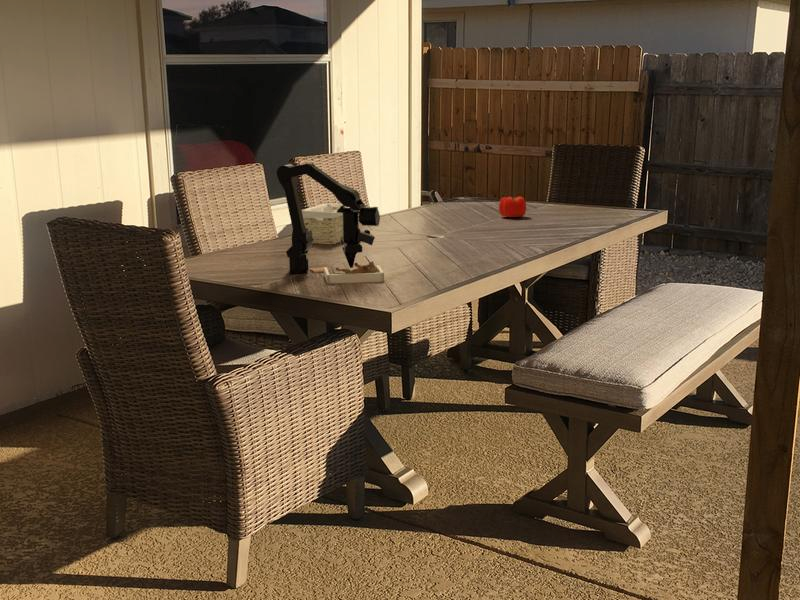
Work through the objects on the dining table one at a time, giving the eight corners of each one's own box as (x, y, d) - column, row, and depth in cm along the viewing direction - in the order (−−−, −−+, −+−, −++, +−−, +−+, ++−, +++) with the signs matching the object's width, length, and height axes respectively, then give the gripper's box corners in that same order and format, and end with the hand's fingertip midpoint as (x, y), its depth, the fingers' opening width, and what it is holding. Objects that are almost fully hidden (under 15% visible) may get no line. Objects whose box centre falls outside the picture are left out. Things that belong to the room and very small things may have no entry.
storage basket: (334, 245, 410) (333, 211, 407) (300, 243, 416) (299, 209, 413) (357, 237, 432) (357, 204, 429) (325, 235, 438) (324, 202, 435)
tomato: (526, 215, 491) (526, 195, 489) (525, 219, 479) (526, 198, 476) (499, 215, 493) (499, 195, 491) (498, 219, 480) (498, 198, 478)
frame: (327, 283, 336) (326, 275, 336) (324, 275, 350) (323, 267, 349) (384, 281, 339) (384, 273, 338) (378, 273, 353) (378, 265, 352)
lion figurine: (364, 255, 351) (378, 262, 344) (366, 268, 353) (380, 275, 346) (330, 269, 344) (344, 276, 337) (333, 282, 346) (346, 290, 340)
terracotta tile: (314, 274, 354) (314, 271, 354) (309, 271, 360) (309, 268, 360) (330, 273, 357) (329, 269, 356) (324, 270, 362) (324, 266, 362)
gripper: (376, 228, 339) (376, 272, 343) (369, 220, 357) (370, 261, 361) (344, 229, 338) (345, 273, 341) (339, 221, 355) (340, 262, 359)
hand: (351, 267), depth 351 cm, fingers closed
